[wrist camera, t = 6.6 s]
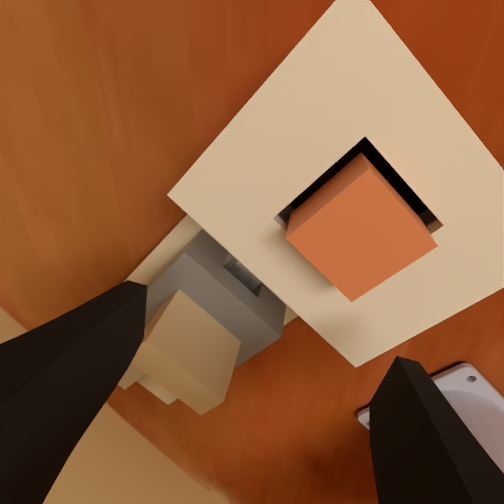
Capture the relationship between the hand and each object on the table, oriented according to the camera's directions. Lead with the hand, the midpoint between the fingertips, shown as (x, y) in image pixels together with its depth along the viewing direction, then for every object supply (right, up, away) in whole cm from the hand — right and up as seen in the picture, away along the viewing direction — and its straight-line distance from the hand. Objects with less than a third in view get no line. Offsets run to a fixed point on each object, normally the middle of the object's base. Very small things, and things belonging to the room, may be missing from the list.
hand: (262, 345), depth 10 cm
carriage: (-2, 0, +9) cm, 9 cm away
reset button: (+3, +4, +2) cm, 5 cm away
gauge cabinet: (+4, +6, +7) cm, 10 cm away
